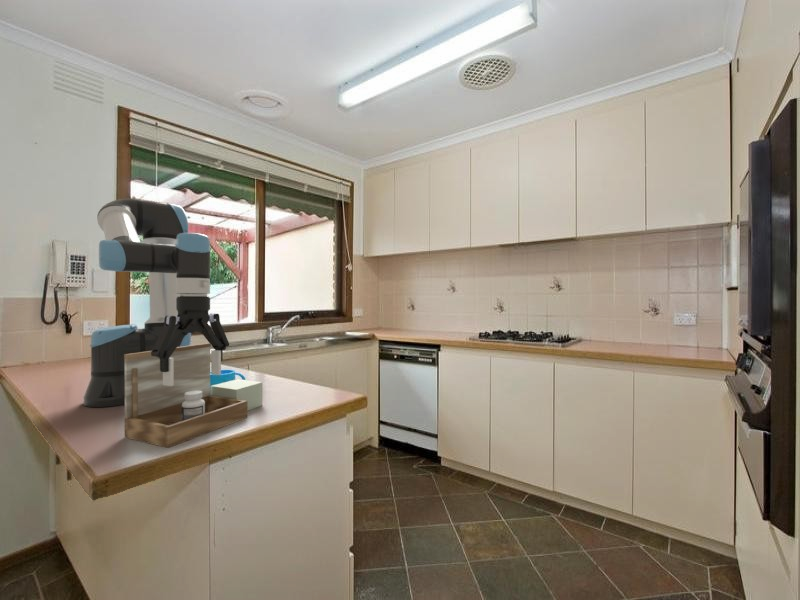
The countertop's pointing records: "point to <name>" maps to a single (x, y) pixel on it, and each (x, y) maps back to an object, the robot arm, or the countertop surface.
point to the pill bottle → (192, 405)
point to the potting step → (240, 391)
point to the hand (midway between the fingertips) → (193, 379)
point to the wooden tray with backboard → (173, 398)
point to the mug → (223, 377)
